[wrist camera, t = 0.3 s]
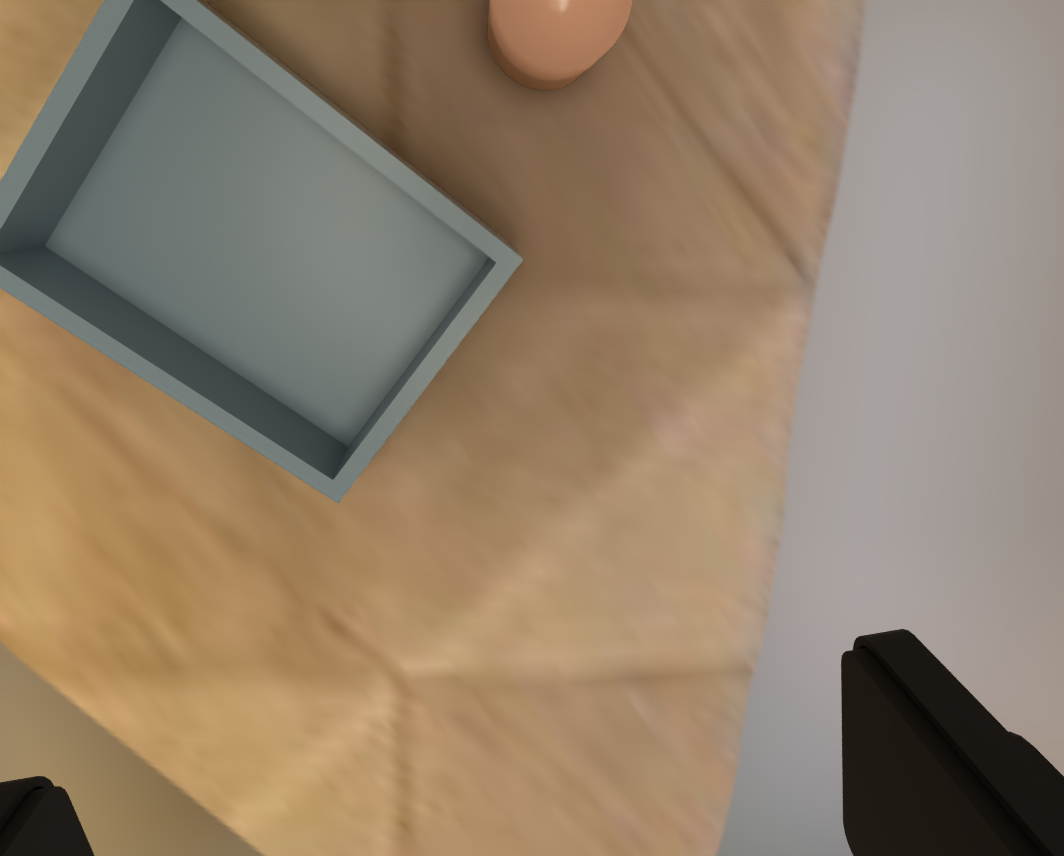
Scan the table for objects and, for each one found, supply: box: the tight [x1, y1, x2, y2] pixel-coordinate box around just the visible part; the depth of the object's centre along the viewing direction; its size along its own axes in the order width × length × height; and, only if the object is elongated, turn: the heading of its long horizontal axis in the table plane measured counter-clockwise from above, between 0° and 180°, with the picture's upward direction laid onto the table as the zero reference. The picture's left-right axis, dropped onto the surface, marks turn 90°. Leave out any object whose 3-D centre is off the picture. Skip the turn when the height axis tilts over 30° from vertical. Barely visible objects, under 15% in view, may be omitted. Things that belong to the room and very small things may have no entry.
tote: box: [0, 0, 523, 503], centre depth 33 cm, size 14×18×5 cm
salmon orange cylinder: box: [487, 0, 633, 90], centre depth 30 cm, size 5×5×7 cm
